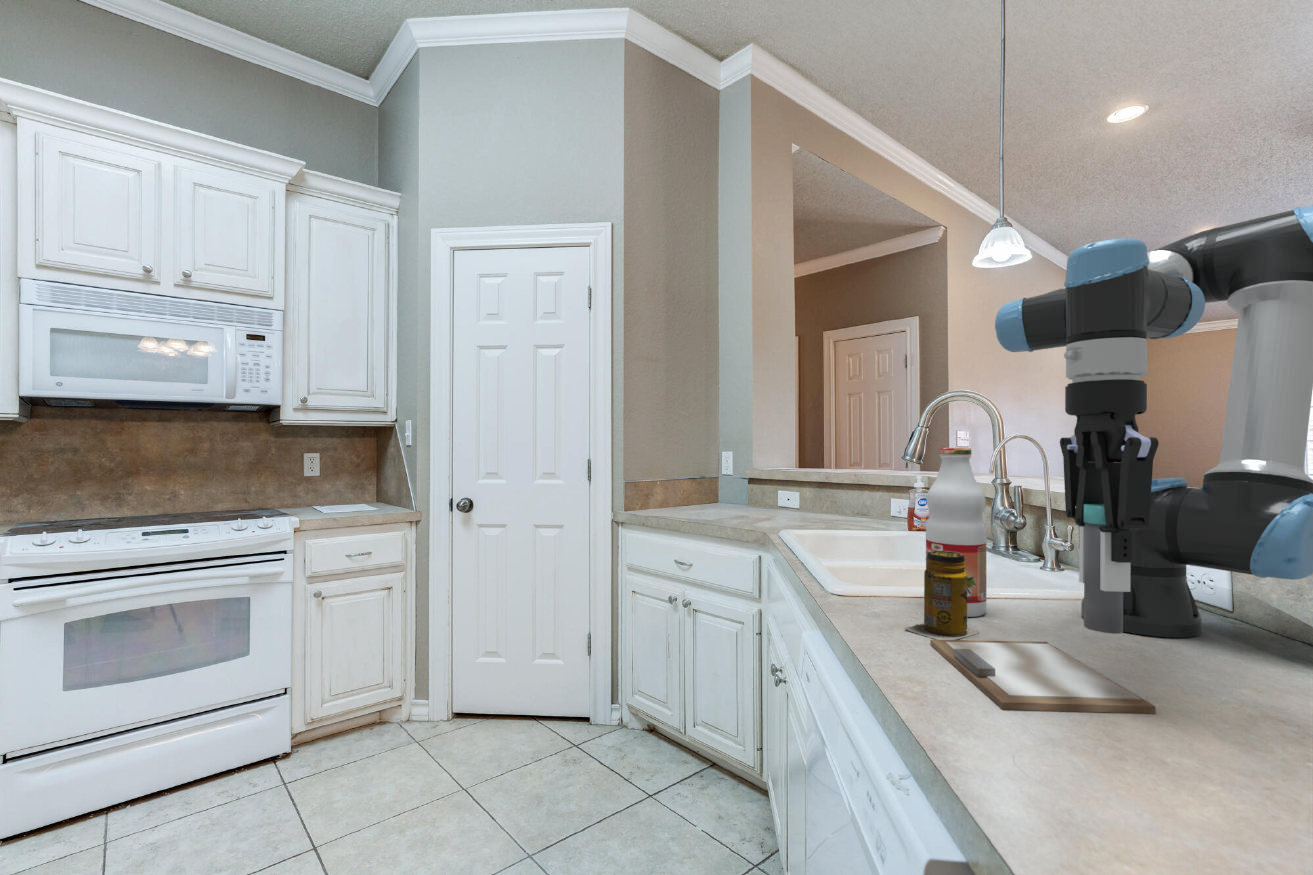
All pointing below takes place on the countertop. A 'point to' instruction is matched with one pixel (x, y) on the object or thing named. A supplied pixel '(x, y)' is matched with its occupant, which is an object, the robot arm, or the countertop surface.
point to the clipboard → (1037, 677)
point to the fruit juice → (959, 522)
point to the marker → (1098, 579)
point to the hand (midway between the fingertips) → (1103, 586)
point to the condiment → (944, 598)
